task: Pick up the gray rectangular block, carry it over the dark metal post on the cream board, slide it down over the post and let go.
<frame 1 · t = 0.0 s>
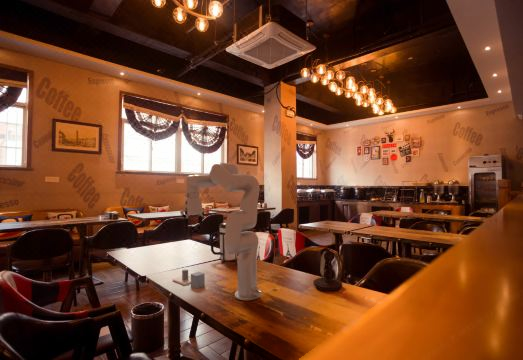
hand: (193, 224, 169), 31 cm above the table, fingers open, 9 cm apart
post stand: (185, 281, 161), on the table
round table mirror: (327, 287, 148), on the table
coffee press: (226, 261, 202), on the table
gray rectangular block: (197, 285, 153), on the table
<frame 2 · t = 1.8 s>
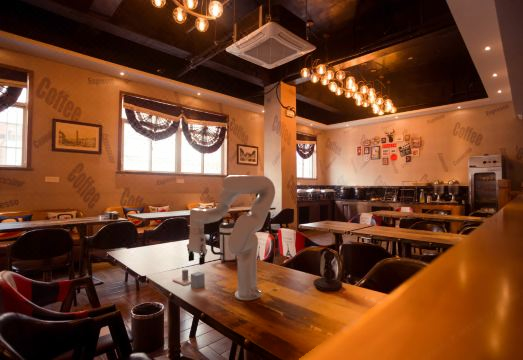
hand: (196, 262, 153), 13 cm above the table, fingers open, 9 cm apart
nothing on the table moved.
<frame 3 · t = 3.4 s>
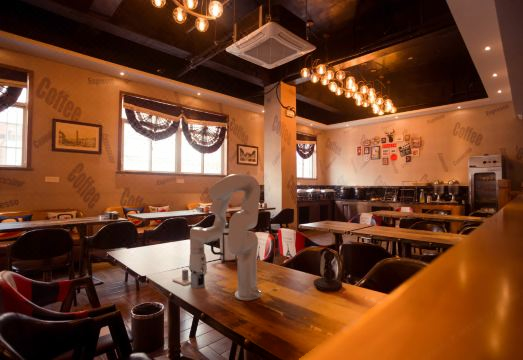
hand: (197, 283, 153), 1 cm above the table, fingers closed on gray rectangular block, 5 cm apart
gray rectangular block: (197, 285, 153), on the table, touching gripper
everything else where it was.
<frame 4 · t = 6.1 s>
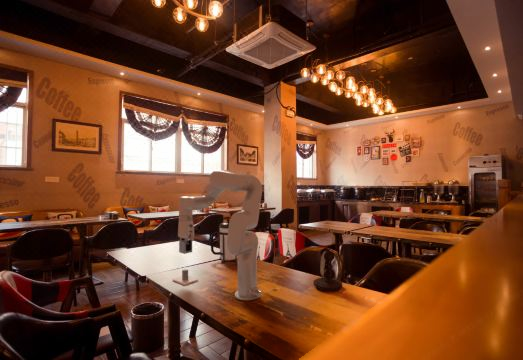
hand: (185, 249, 160), 18 cm above the table, fingers closed on gray rectangular block, 5 cm apart
gray rectangular block: (185, 252, 160), point 17 cm above the table, touching gripper
everything else where it was.
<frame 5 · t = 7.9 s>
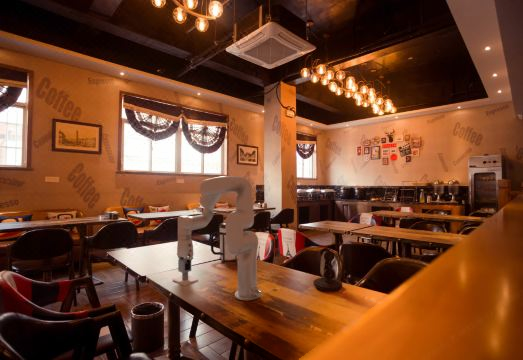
hand: (184, 268, 161), 7 cm above the table, fingers closed on gray rectangular block, 5 cm apart
gray rectangular block: (184, 271, 161), point 6 cm above the table, touching gripper
everything else where it was.
when the fingers open (3 cm above the table, at t = 9.0 s): gray rectangular block stays where it is, resting on post stand.
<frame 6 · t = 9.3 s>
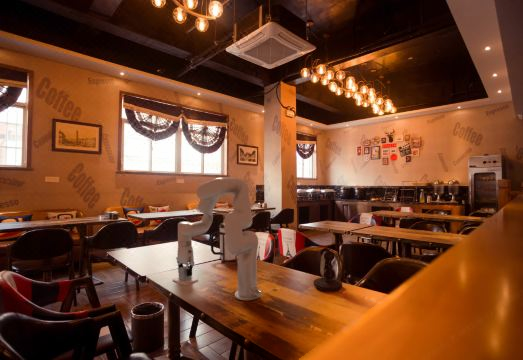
hand: (185, 274, 161), 4 cm above the table, fingers open, 8 cm apart
gray rectangular block: (185, 279, 161), point 1 cm above the table, touching post stand
everything else where it was.
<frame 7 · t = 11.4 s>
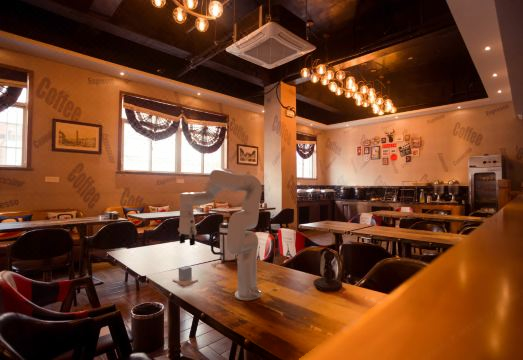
hand: (187, 244, 161), 21 cm above the table, fingers open, 9 cm apart
nothing on the table moved.
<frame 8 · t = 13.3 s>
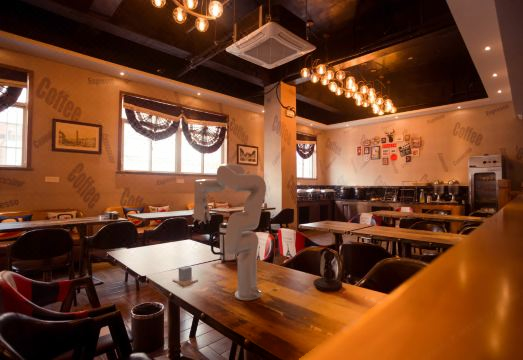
hand: (201, 229, 167), 28 cm above the table, fingers open, 9 cm apart
nothing on the table moved.
at the end: gray rectangular block 0.0 cm from the post stand (horizontally); gray rectangular block point 1.0 cm above the table; gray rectangular block tilted 0° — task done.
